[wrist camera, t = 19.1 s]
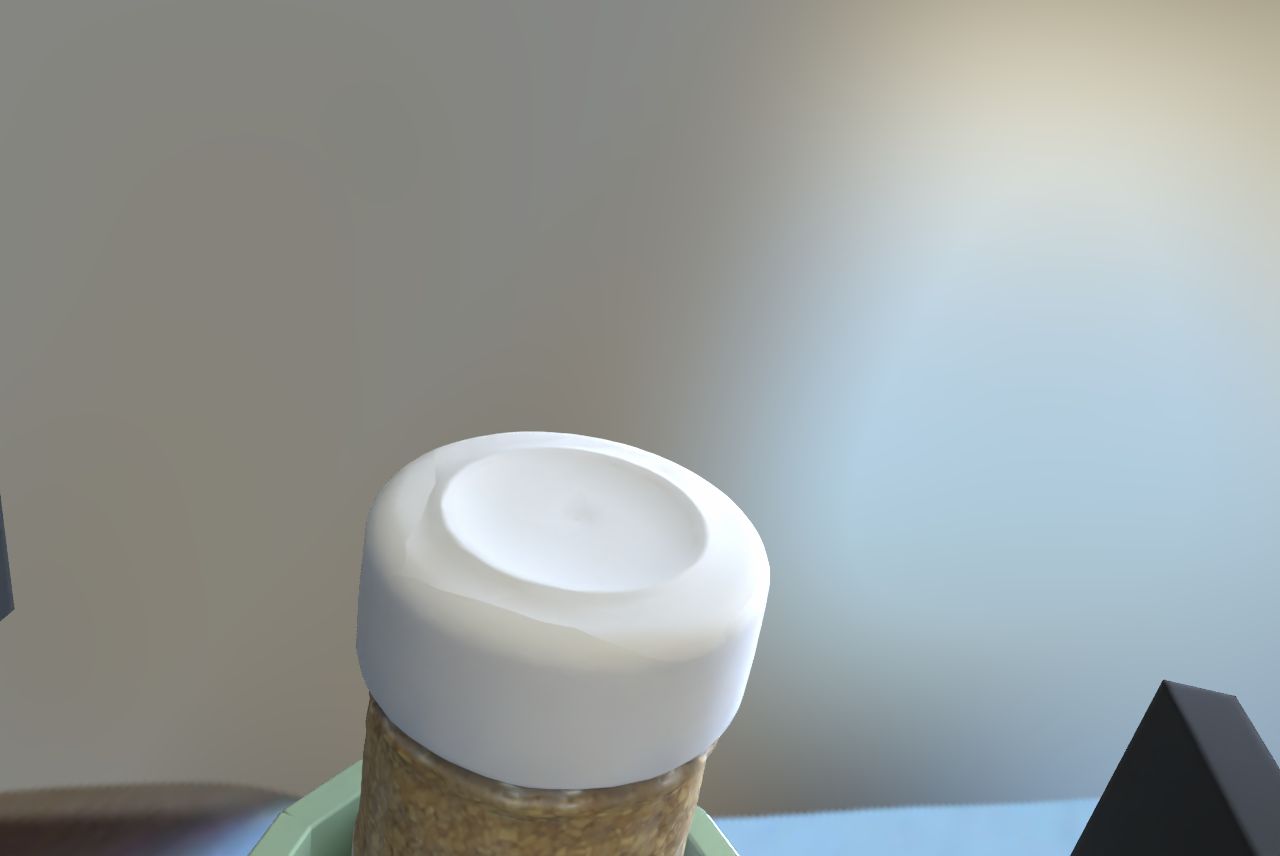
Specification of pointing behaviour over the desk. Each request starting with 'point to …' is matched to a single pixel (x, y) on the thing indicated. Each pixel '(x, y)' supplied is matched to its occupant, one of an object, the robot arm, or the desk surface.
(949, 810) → the desk surface
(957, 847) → the desk surface
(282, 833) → the holder
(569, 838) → the sprinkles bottle
